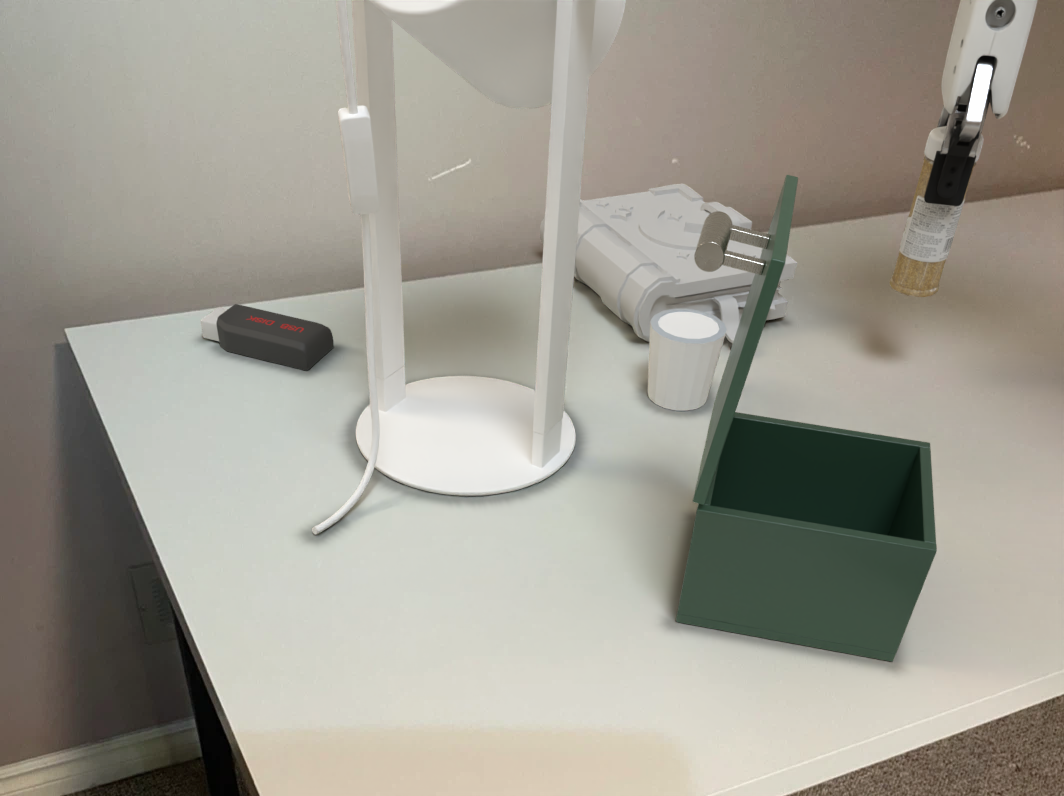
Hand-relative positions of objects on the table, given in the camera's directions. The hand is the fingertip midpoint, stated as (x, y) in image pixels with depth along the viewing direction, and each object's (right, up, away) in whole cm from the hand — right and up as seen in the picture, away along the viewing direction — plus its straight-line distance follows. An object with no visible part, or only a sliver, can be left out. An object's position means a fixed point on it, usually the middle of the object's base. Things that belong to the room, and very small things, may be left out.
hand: (941, 190), depth 94 cm
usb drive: (-62, -10, +10) cm, 63 cm away
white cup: (-22, -16, +7) cm, 28 cm away
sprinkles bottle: (0, -6, +6) cm, 9 cm away
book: (-21, -1, +22) cm, 30 cm away
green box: (-17, -36, -13) cm, 42 cm away
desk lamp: (-44, -24, -2) cm, 49 cm away
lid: (-22, -22, -25) cm, 40 cm away
